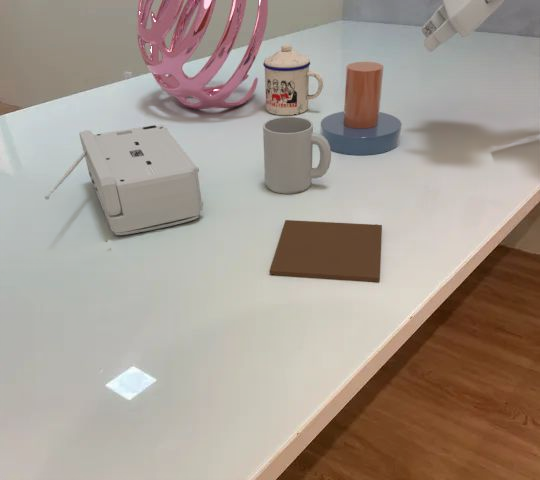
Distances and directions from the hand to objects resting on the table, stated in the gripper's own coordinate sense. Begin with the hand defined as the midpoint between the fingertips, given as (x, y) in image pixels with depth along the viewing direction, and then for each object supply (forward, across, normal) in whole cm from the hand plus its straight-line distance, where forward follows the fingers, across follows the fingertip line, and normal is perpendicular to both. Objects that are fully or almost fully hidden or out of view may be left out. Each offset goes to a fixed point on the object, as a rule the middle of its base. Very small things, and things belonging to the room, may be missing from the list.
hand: (425, 40), depth 88 cm
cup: (+24, -20, +1) cm, 31 cm away
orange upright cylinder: (+15, 0, -3) cm, 16 cm away
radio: (+32, -24, +15) cm, 43 cm away
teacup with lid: (+28, +16, +5) cm, 32 cm away
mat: (+19, -39, -4) cm, 44 cm away
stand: (+18, 0, -5) cm, 18 cm away
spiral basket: (+41, +19, +18) cm, 49 cm away
